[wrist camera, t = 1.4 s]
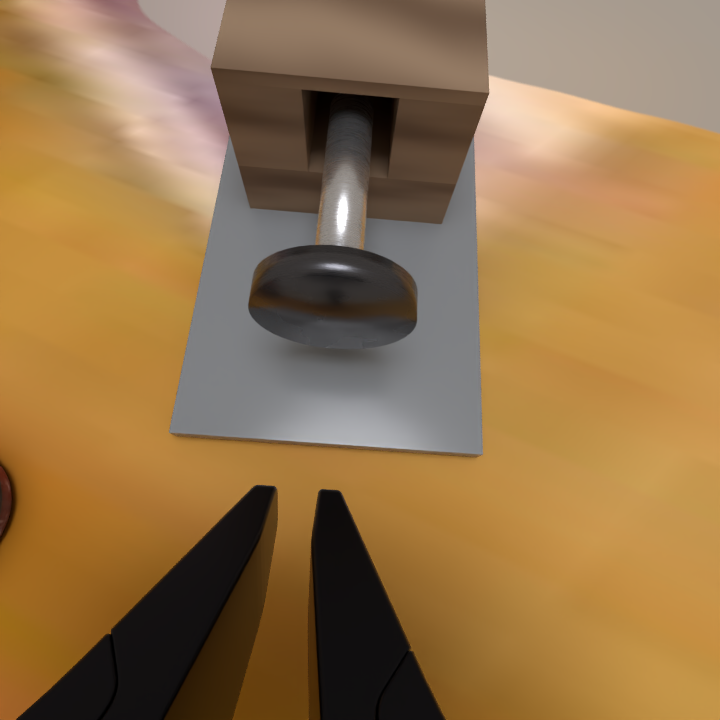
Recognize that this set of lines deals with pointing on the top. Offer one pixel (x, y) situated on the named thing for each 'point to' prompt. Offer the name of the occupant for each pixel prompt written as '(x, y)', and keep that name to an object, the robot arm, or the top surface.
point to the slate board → (336, 366)
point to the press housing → (353, 76)
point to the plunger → (337, 257)
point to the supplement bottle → (4, 499)
